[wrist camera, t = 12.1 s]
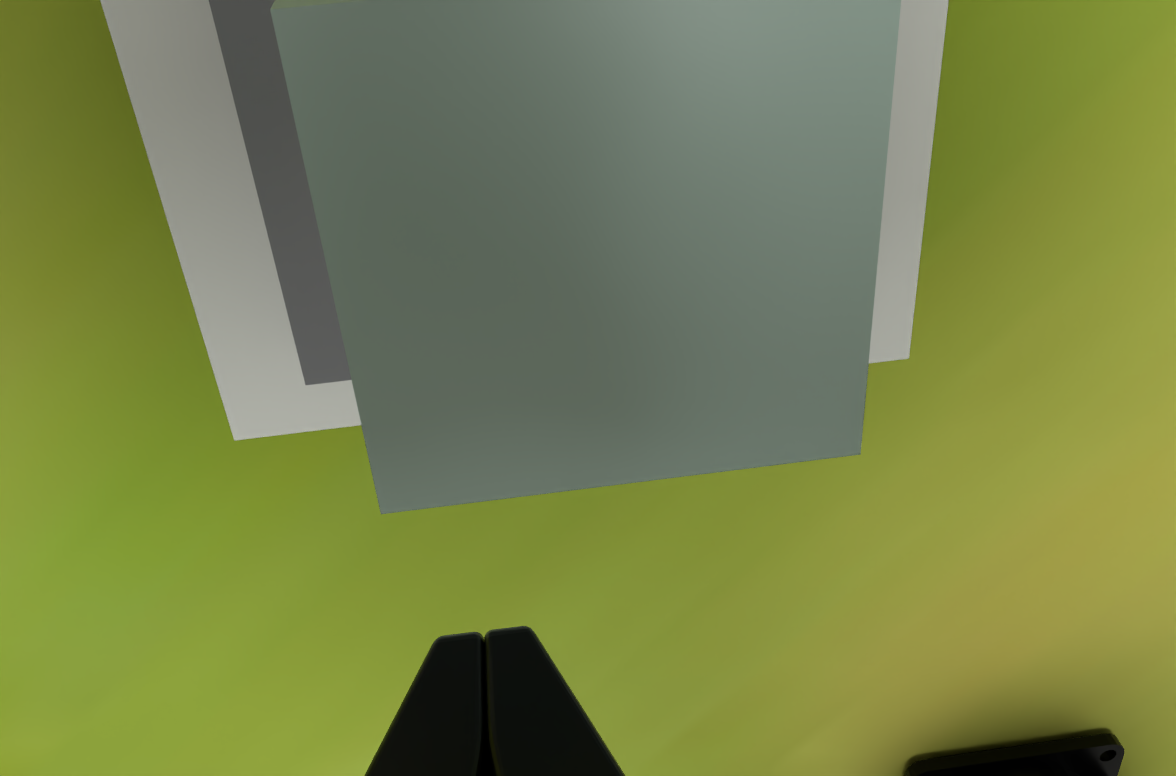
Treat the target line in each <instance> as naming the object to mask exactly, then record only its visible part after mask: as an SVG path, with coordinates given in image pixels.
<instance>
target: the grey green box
mask: <svg viewBox="0 0 1176 776" xmlns="http://www.w3.org/2000/svg"><path fill="white" fill-rule="evenodd" d="M900 8H901V0H275V1H274V3H273V5H272V7H271V9H270V11H271V16H272V20H273V25H274V29H275V34H276V38H277V43H278V48H279V52H280V57H281V61H282V66H283V70H284V75H285V79H286V84H287V89H288V93H289V98H290V102H291V107H292V111H293V116H294V120H295V125H296V129H297V134H298V139H299V143H300V148H301V152H302V157H303V161H304V166H305V170H306V175H307V180H308V184H309V189H310V193H311V198H312V202H313V207H314V211H315V216H316V220H317V225H318V230H319V234H320V239H321V243H322V248H323V252H324V257H325V261H326V266H327V271H328V275H329V280H330V284H331V289H332V293H333V298H334V302H335V307H336V311H337V316H338V321H339V325H340V330H341V334H342V339H343V343H344V348H345V352H346V357H347V362H348V366H349V371H350V375H351V380H352V384H353V389H354V393H355V398H356V402H357V407H358V412H359V416H360V421H361V425H362V430H363V434H364V439H365V443H366V448H367V453H368V457H369V462H370V466H371V471H372V475H373V480H374V484H375V489H376V494H377V498H378V503H379V507H380V512H381V514H385V513H393V512H401V511H409V510H417V509H425V508H433V507H441V506H449V505H457V504H465V503H474V502H482V501H490V500H498V499H506V498H514V497H522V496H530V495H538V494H546V493H554V492H562V491H570V490H578V489H586V488H594V487H602V486H610V485H618V484H626V483H634V482H642V481H650V480H658V479H666V478H674V477H683V476H691V475H699V474H707V473H715V472H723V471H731V470H739V469H747V468H755V467H763V466H771V465H779V464H787V463H795V462H803V461H811V460H819V459H827V458H835V457H843V456H851V455H859V454H860V453H861V442H862V430H863V419H864V408H865V397H866V386H867V375H868V364H869V353H870V342H871V330H872V319H873V308H874V297H875V286H876V275H877V264H878V253H879V242H880V230H881V219H882V208H883V197H884V186H885V175H886V164H887V153H888V141H889V130H890V119H891V108H892V97H893V86H894V75H895V64H896V53H897V41H898V30H899V19H900Z"/></svg>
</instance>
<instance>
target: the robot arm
mask: <svg viewBox="0 0 1176 776" xmlns="http://www.w3.org/2000/svg"><path fill="white" fill-rule="evenodd" d="M1123 756H1124V748H1123V746H1122V745H1121V743H1120V742H1119V740H1118V739H1117V737H1116V736H1115V735H1113V734H1099V735H1092V736H1085V737H1078V738H1071V739H1064V740H1057V741H1050V742H1043V743H1036V744H1029V745H1022V746H1016V747H1009V748H1002V749H995V750H988V751H981V752H974V753H967V754H960V755H953V756H946V757H939V758H933V759H926V760H921V761H917V762H916V763H914V764H912V765H911V766H910V767H909V768H908V769H907V771H906V774H905V776H1117V775H1118V772H1119V769H1120V765H1121V762H1122V759H1123ZM365 776H625V774H624V773H623V771H622V770H621V768H620V766H619V765H618V763H617V762H616V760H615V759H614V757H613V755H612V754H611V752H610V751H609V749H608V748H607V746H606V744H605V743H604V741H603V740H602V738H601V736H600V735H599V733H598V732H597V730H596V729H595V727H594V725H593V724H592V722H591V721H590V719H589V718H588V716H587V714H586V713H585V711H584V710H583V708H582V706H581V705H580V703H579V702H578V700H577V699H576V697H575V695H574V694H573V692H572V691H571V689H570V688H569V686H568V684H567V683H566V681H565V680H564V678H563V676H562V675H561V673H560V672H559V670H558V669H557V667H556V665H555V664H554V662H553V661H552V659H551V658H550V656H549V654H548V653H547V651H546V650H545V648H544V646H543V645H542V643H541V642H540V640H539V639H538V637H537V635H536V634H535V632H534V631H533V630H532V629H531V628H529V627H527V626H519V627H511V628H502V629H494V630H490V631H488V632H487V633H486V635H485V638H484V637H483V636H482V635H481V634H480V633H478V632H469V633H461V634H453V635H445V636H440V637H439V638H437V639H436V640H435V641H434V643H433V644H432V646H431V648H430V650H429V652H428V654H427V656H426V657H425V659H424V661H423V663H422V665H421V667H420V669H419V671H418V673H417V675H416V677H415V679H414V681H413V683H412V685H411V687H410V688H409V690H408V692H407V694H406V696H405V698H404V700H403V702H402V704H401V706H400V708H399V710H398V712H397V714H396V716H395V717H394V719H393V721H392V723H391V725H390V727H389V729H388V731H387V733H386V735H385V737H384V739H383V741H382V743H381V745H380V747H379V748H378V750H377V752H376V754H375V756H374V758H373V760H372V762H371V764H370V766H369V768H368V770H367V772H366V774H365Z"/></svg>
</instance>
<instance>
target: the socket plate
mask: <svg viewBox="0 0 1176 776" xmlns="http://www.w3.org/2000/svg"><path fill="white" fill-rule="evenodd" d="M100 1H101V4H102V8H103V11H104V14H105V17H106V21H107V24H108V27H109V31H110V34H111V37H112V40H113V44H114V47H115V50H116V54H117V57H118V60H119V63H120V67H121V70H122V73H123V77H124V80H125V83H126V86H127V90H128V93H129V96H130V100H131V103H132V106H133V109H134V113H135V116H136V119H137V122H138V126H139V129H140V132H141V136H142V139H143V142H144V145H145V149H146V152H147V155H148V159H149V162H150V165H151V168H152V172H153V175H154V178H155V182H156V185H157V188H158V191H159V195H160V198H161V201H162V205H163V208H164V211H165V214H166V218H167V221H168V224H169V228H170V231H171V234H172V237H173V241H174V244H175V247H176V251H177V254H178V257H179V260H180V264H181V267H182V270H183V274H184V277H185V280H186V283H187V287H188V290H189V293H190V296H191V300H192V303H193V306H194V310H195V313H196V316H197V319H198V323H199V326H200V329H201V333H202V336H203V339H204V342H205V346H206V349H207V352H208V356H209V359H210V362H211V365H212V369H213V372H214V375H215V379H216V382H217V385H218V388H219V392H220V395H221V398H222V402H223V405H224V408H225V411H226V415H227V418H228V421H229V425H230V428H231V431H232V434H233V438H234V440H242V439H250V438H259V437H267V436H275V435H283V434H292V433H300V432H308V431H316V430H325V429H333V428H341V427H349V426H358V425H361V421H360V416H359V412H358V407H357V402H356V398H355V393H354V389H353V384H352V380H351V375H350V371H349V366H348V362H347V357H346V352H345V348H344V343H343V339H342V334H341V330H340V325H339V321H338V316H337V311H336V307H335V302H334V298H333V293H332V289H331V284H330V280H329V275H328V271H327V266H326V261H325V257H324V252H323V248H322V243H321V239H320V234H319V230H318V225H317V220H316V216H315V211H314V207H313V202H312V198H311V193H310V189H309V184H308V180H307V175H306V170H305V166H304V161H303V157H302V152H301V148H300V143H299V139H298V134H297V129H296V125H295V120H294V116H293V111H292V107H291V102H290V98H289V93H288V89H287V84H286V79H285V75H284V70H283V66H282V61H281V57H280V52H279V48H278V43H277V38H276V34H275V29H274V25H273V20H272V16H271V11H270V9H271V7H272V5H273V3H274V1H275V0H100ZM948 1H949V0H901V8H900V19H899V30H898V41H897V53H896V64H895V75H894V86H893V97H892V108H891V119H890V130H889V141H888V153H887V164H886V175H885V186H884V197H883V208H882V219H881V230H880V242H879V253H878V264H877V275H876V286H875V297H874V308H873V319H872V330H871V342H870V353H869V363H876V362H884V361H893V360H901V359H909V353H910V344H911V335H912V326H913V317H914V308H915V299H916V290H917V281H918V272H919V263H920V254H921V245H922V236H923V227H924V218H925V208H926V199H927V190H928V181H929V172H930V163H931V154H932V145H933V136H934V127H935V118H936V109H937V100H938V91H939V82H940V73H941V64H942V55H943V46H944V37H945V28H946V19H947V10H948Z"/></svg>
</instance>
